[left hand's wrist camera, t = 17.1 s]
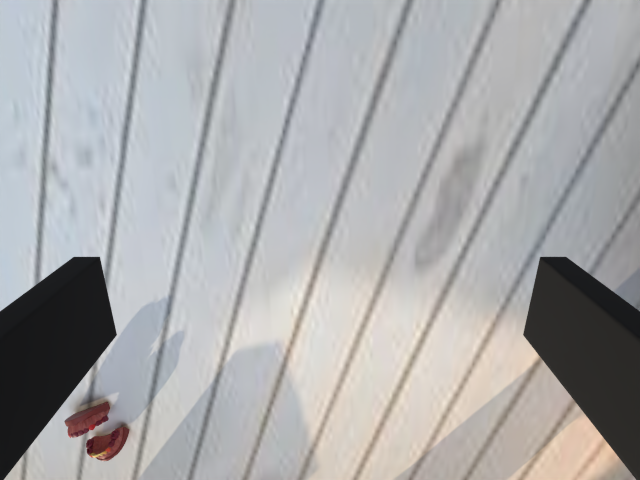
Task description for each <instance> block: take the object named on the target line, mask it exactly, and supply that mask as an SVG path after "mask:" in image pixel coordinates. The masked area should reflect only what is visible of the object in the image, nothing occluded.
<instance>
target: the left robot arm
mask: <svg viewBox="0 0 640 480" xmlns="http://www.w3.org/2000/svg"><path fill="white" fill-rule="evenodd" d="M116 335H117V334H116V329H115V325H114V320H113V316H112V311H111V306H110V302H109V297H108V293H107V288H106V284H105V279H104V274H103V270H102V265H101V261H100V257H73V258H72V259H71V260H69V261H68V262H67V263H65V264H64V265H62V266H61V267H60V268H58V269H57V270H56V271H54V272H53V273H52V274H50V275H49V276H48V277H46V278H45V279H44V280H42V281H41V282H39V283H38V284H37V285H35V286H34V287H33V288H31V289H30V290H29V291H27V292H26V293H25V294H23V295H22V296H21V297H19V298H18V299H17V300H15V301H14V302H12V303H11V304H10V305H8V306H7V307H6V308H4V309H3V310H2V311H0V480H4V478H5V477H6V476H7V475H8V473H9V472H10V471H11V470H12V468H13V467H14V466H15V464H16V463H17V462H18V461H19V459H20V458H21V457H22V455H23V454H24V453H25V452H26V450H27V449H28V448H29V446H30V445H31V444H32V443H33V441H34V440H35V439H36V438H37V436H38V435H39V434H40V432H41V431H42V430H43V429H44V427H45V426H46V425H47V423H48V422H49V421H50V420H51V418H52V417H53V416H54V415H55V413H56V412H57V411H58V409H59V408H60V407H61V406H62V404H63V403H64V402H65V400H66V399H67V398H68V397H69V395H70V394H71V393H72V391H73V390H74V389H75V388H76V386H77V385H78V384H79V383H80V381H81V380H82V379H83V377H84V376H85V375H86V374H87V372H88V371H89V370H90V368H91V367H92V366H93V365H94V363H95V362H96V361H97V360H98V358H99V357H100V356H101V354H102V353H103V352H104V351H105V349H106V348H107V347H108V345H109V344H110V343H111V342H112V340H113V339H114V338H115V336H116ZM523 335H524V336H525V338H526V339H527V340H528V342H529V343H530V344H531V345H532V347H533V348H534V349H535V351H536V352H537V353H538V354H539V356H540V357H541V358H542V360H543V361H544V362H545V363H546V365H547V366H548V367H549V368H550V370H551V371H552V372H553V374H554V375H555V376H556V377H557V379H558V380H559V381H560V383H561V384H562V385H563V386H564V388H565V389H566V390H567V391H568V393H569V394H570V395H571V397H572V398H573V399H574V400H575V402H576V403H577V404H578V406H579V407H580V408H581V409H582V411H583V412H584V413H585V415H586V416H587V417H588V418H589V420H590V421H591V422H592V423H593V425H594V426H595V427H596V429H597V430H598V431H599V432H600V434H601V435H602V436H603V438H604V439H605V440H606V441H607V443H608V444H609V445H610V446H611V448H612V449H613V450H614V452H615V453H616V454H617V455H618V457H619V458H620V459H621V461H622V462H623V463H624V464H625V466H626V467H627V468H628V470H629V471H630V472H631V473H632V475H633V476H634V477H635V478H636V480H640V311H638V310H637V309H636V308H634V307H633V306H632V305H630V304H629V303H628V302H626V301H625V300H623V299H622V298H621V297H619V296H618V295H617V294H615V293H614V292H613V291H611V290H610V289H609V288H607V287H606V286H605V285H603V284H602V283H601V282H599V281H598V280H596V279H595V278H594V277H592V276H591V275H590V274H588V273H587V272H586V271H584V270H583V269H582V268H580V267H579V266H578V265H576V264H575V263H573V262H572V261H571V260H569V259H568V258H567V257H540V261H539V265H538V270H537V274H536V279H535V284H534V288H533V293H532V297H531V302H530V306H529V311H528V316H527V320H526V325H525V329H524V334H523Z"/></svg>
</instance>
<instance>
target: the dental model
mask: <svg viewBox="0 0 640 480" xmlns="http://www.w3.org/2000/svg"><path fill="white" fill-rule="evenodd" d="M109 410H110V407H109V404H108V402H105V403H103V404H100V405H97V406H94V407H92V408H89V409H86V410H84V411H81V412H78V413H76V414H73V415H72V416H70V417H69V418H67V419H66V420H65V424H66V426H67V427H68V435H69V437H70V438H71V437H73V438H74V437H78V436H81V435H83V434H85V433H87V432H88V431H89V430H93V429H94V428H95V426H99V425H100V424H102V422H103V423H104V422H106V421H107V420H108V416H107V414H108V412H109ZM128 433H129V429H128V428H126V427H121V428H117V429H115V430H114V431H113V432H112V434H109V435H106V436H94V437H93V438H91V439H89V440H88V441H87V443H86V448H87V454H88V455H89V456H90V457H95V458H97V459H98V460H102V461H108V460H110V459H112V458H113V457H114V456H116V455H117V454H118V453H119V452H120V450H121V449H122V448H123V446H124V444H125V442H126V440H127V437H128Z"/></svg>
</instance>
